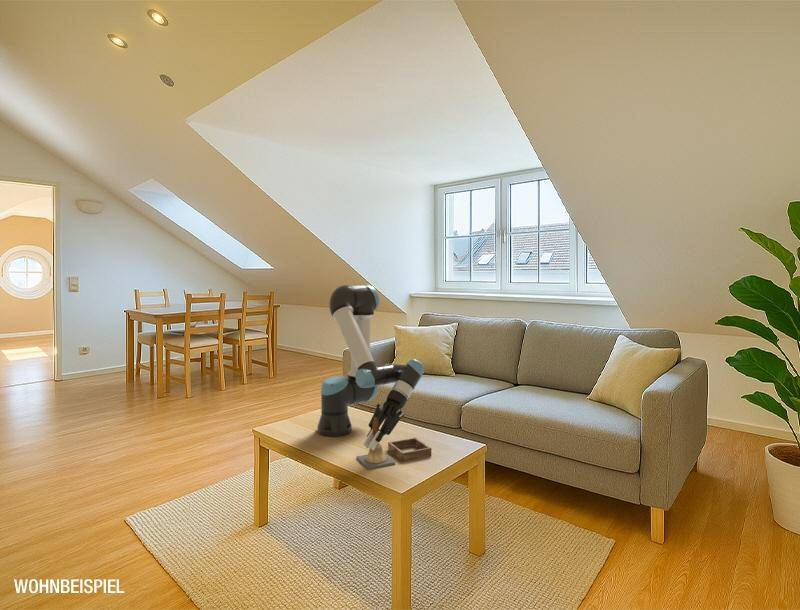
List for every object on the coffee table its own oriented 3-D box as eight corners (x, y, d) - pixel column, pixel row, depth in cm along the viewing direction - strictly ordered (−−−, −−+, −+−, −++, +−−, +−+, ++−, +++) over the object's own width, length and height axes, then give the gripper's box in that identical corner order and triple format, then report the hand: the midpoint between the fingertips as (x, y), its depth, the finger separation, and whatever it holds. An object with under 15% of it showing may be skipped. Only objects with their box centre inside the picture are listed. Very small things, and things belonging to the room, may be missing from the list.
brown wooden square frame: (388, 449, 189) (388, 442, 188) (415, 444, 194) (415, 437, 194) (402, 461, 177) (402, 453, 177) (431, 455, 183) (431, 448, 183)
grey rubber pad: (356, 458, 179) (356, 456, 179) (382, 453, 184) (382, 451, 184) (367, 469, 170) (367, 467, 170) (395, 464, 175) (395, 462, 175)
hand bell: (367, 464, 172) (367, 422, 170) (362, 455, 180) (363, 414, 178) (389, 462, 174) (389, 420, 173) (383, 453, 182) (384, 413, 181)
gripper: (418, 404, 181) (388, 458, 171) (390, 396, 192) (359, 447, 181) (409, 393, 177) (377, 447, 166) (380, 385, 188) (349, 437, 177)
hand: (368, 447), depth 174 cm, fingers closed on hand bell, 2 cm apart
